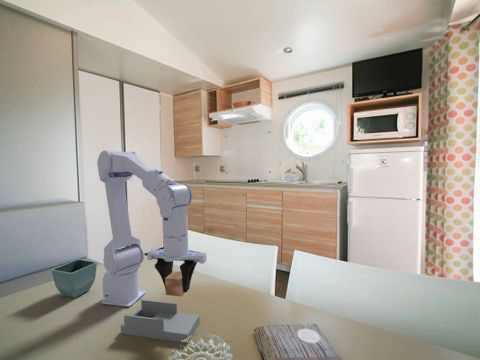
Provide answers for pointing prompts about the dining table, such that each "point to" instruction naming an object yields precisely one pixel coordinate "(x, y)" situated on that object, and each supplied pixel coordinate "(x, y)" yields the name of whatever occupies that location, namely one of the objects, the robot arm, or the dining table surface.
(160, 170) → the robot arm
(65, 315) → the dining table surface
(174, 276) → the terracotta block
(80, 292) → the flower pot
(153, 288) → the dining table surface
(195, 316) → the slate trough
